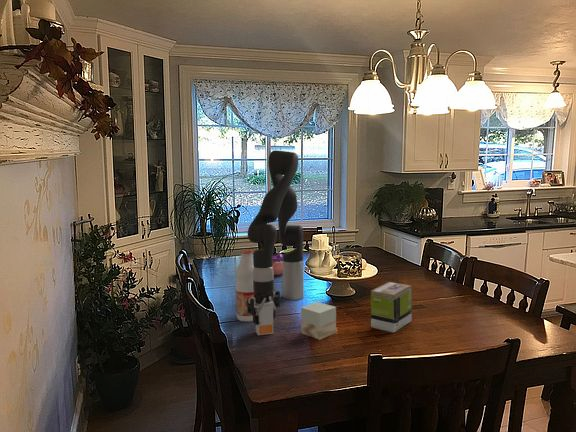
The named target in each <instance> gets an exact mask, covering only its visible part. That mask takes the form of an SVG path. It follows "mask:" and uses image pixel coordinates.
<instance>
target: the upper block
mask: <svg viewBox="0 0 576 432" xmlns="http://www.w3.org/2000/svg"><path fill="white" fill-rule="evenodd" d="M300 310H301V311H300V312H301V318H300V320H301V321H304V322H307V323H310V324H313V325H316V326H319V327H321V326H323V325H326V324H328V323H331V322H333V321H336V322H337V306H334V305H330V304H327V303H323V302H320V301H316V302H314V303H310V304H308V305H305V306H301V308H300Z"/></svg>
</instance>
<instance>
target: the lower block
mask: <svg viewBox="0 0 576 432" xmlns="http://www.w3.org/2000/svg"><path fill="white" fill-rule="evenodd" d="M300 323H301V324H300V325H301V329H300V330H301V334H302V335H306V336H309V337H310V338H311V337H312V338H313V339H316V340H319V341H320V340H322V339H324V338H326V337H329V336H332V335H334V334H337V320H336V321H333V322H331V323H328V324H326V325H323V326H321V327H319V326H316V325H313V324H310V323H307V322H304V321H301V322H300Z"/></svg>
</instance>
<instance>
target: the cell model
mask: <svg viewBox="0 0 576 432" xmlns="http://www.w3.org/2000/svg"><path fill="white" fill-rule="evenodd" d="M283 255H284V254H282V253H280V252H279V253H276V255H273V271H274V276H280V275H283Z"/></svg>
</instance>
